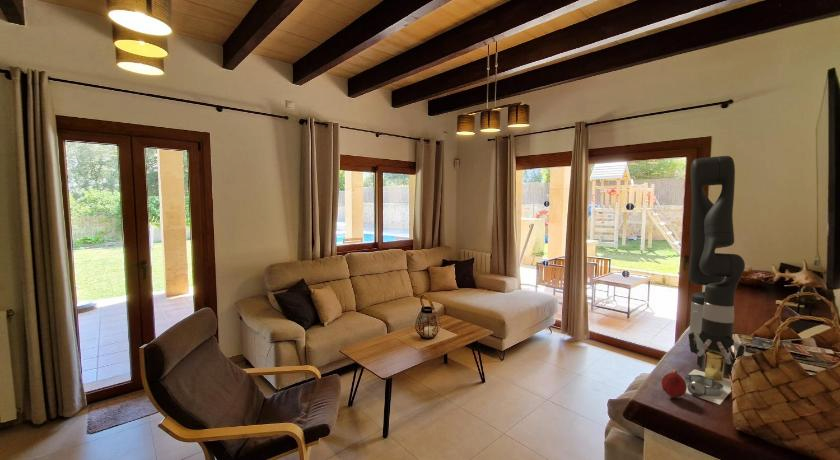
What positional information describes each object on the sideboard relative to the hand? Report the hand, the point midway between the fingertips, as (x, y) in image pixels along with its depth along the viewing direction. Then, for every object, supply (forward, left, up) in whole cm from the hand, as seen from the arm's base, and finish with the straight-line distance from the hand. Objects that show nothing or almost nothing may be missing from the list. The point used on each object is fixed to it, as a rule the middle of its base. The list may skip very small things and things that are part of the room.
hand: (713, 370), depth 113 cm
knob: (0, 0, -2) cm, 2 cm away
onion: (+22, -4, -3) cm, 23 cm away
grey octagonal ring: (+12, 0, -2) cm, 13 cm away
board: (+8, 0, -3) cm, 9 cm away
